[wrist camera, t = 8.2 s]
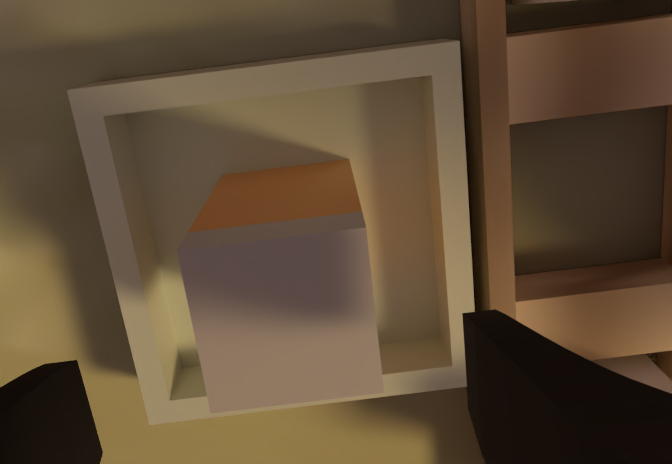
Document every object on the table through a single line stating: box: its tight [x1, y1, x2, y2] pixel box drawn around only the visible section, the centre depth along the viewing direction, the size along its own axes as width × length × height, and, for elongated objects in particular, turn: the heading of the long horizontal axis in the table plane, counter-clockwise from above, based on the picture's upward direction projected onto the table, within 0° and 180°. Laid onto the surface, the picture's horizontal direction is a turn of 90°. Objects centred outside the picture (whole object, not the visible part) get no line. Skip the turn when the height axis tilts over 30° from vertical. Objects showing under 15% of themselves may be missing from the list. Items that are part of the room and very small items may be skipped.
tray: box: [67, 38, 475, 425], centre depth 20 cm, size 11×11×2 cm
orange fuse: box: [177, 159, 384, 413], centre depth 17 cm, size 4×4×7 cm
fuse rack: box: [460, 0, 672, 464], centre depth 20 cm, size 7×23×2 cm, turn 7°
